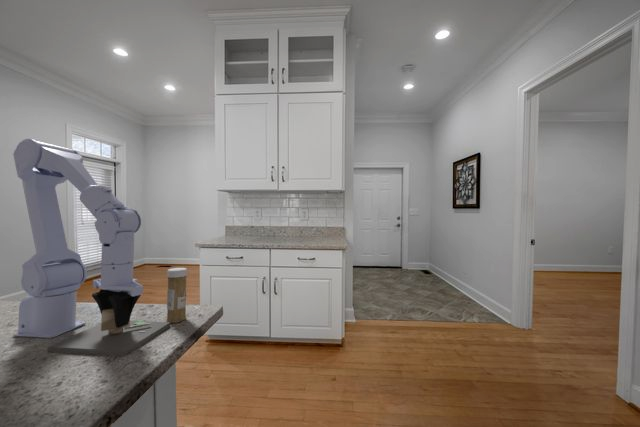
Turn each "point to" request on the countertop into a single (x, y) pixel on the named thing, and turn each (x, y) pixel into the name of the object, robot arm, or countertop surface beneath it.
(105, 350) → the dial board
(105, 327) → the peg
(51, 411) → the countertop surface
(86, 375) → the countertop surface
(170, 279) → the sprinkles bottle
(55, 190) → the robot arm
